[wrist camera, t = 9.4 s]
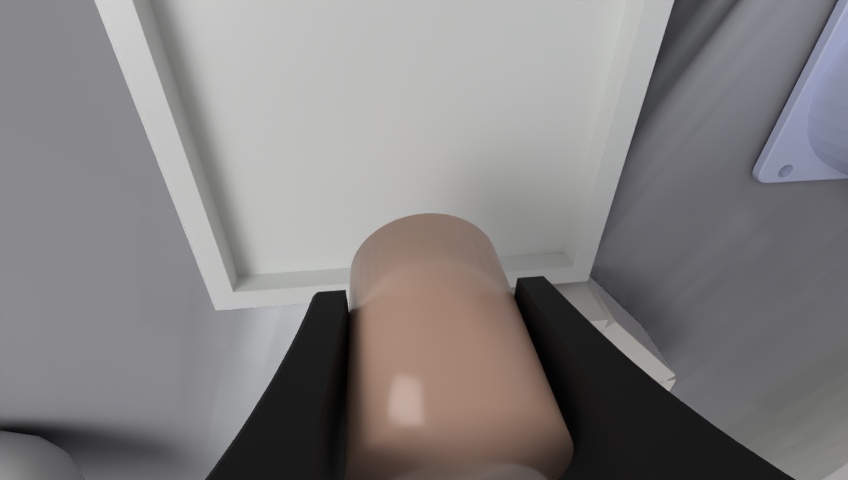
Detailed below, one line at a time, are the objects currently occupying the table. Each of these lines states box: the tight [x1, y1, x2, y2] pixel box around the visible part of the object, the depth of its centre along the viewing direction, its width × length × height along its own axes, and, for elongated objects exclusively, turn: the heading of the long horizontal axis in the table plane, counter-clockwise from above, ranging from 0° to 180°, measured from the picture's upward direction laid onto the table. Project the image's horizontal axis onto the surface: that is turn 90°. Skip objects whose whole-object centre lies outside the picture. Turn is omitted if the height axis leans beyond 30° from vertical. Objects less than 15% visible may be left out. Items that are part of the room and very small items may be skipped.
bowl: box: [510, 276, 676, 391], centre depth 21 cm, size 14×14×3 cm
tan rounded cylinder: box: [344, 213, 573, 480], centre depth 9 cm, size 4×4×5 cm
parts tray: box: [95, 0, 674, 310], centre depth 12 cm, size 14×15×1 cm
